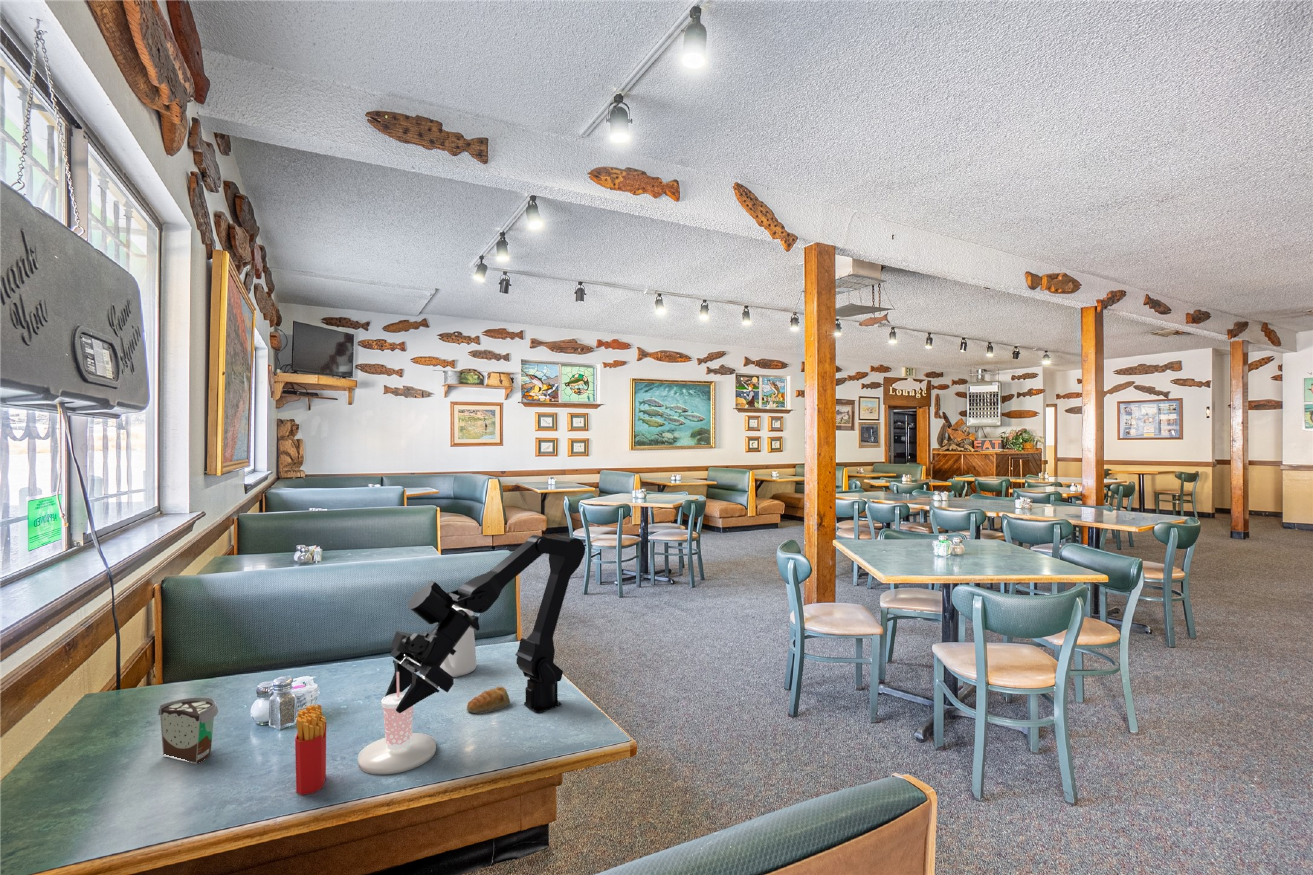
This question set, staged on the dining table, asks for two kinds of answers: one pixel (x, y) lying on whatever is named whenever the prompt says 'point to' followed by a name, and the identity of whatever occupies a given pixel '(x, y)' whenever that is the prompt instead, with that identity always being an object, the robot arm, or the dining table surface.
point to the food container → (188, 728)
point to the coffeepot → (462, 653)
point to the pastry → (489, 701)
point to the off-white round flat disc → (396, 755)
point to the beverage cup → (397, 721)
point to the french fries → (310, 750)
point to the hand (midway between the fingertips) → (391, 707)
